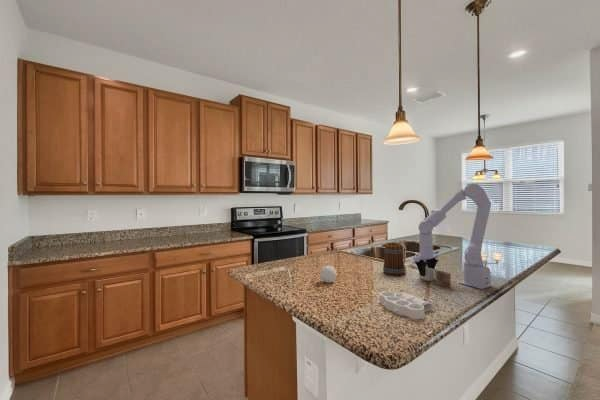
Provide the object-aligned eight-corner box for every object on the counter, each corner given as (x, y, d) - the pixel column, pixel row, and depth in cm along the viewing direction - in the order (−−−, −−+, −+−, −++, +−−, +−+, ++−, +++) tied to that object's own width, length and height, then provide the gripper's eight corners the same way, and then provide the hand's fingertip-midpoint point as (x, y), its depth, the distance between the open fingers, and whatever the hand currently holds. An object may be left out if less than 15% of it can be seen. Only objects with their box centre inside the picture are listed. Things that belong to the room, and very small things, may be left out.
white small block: (434, 279, 126) (434, 268, 126) (428, 280, 125) (428, 270, 125) (424, 276, 131) (424, 266, 131) (419, 278, 129) (419, 267, 129)
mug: (401, 277, 131) (401, 246, 131) (380, 274, 137) (379, 244, 137) (410, 269, 143) (409, 241, 143) (390, 267, 150) (389, 240, 150)
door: (442, 283, 119) (442, 274, 119) (437, 282, 120) (437, 273, 120) (438, 275, 130) (438, 267, 130) (434, 275, 131) (434, 267, 131)
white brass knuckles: (440, 314, 90) (408, 323, 84) (400, 296, 106) (370, 303, 100) (440, 304, 90) (408, 313, 84) (399, 288, 106) (370, 294, 100)
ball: (329, 289, 124) (326, 278, 119) (318, 279, 129) (315, 269, 125) (341, 279, 127) (338, 268, 122) (329, 270, 132) (327, 259, 128)
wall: (451, 287, 114) (451, 273, 114) (448, 288, 113) (448, 274, 113) (438, 284, 119) (438, 270, 119) (435, 284, 118) (435, 271, 118)
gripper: (428, 243, 135) (429, 270, 135) (408, 246, 128) (408, 275, 128) (441, 245, 128) (442, 274, 128) (421, 248, 122) (421, 278, 122)
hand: (426, 274), depth 128 cm, fingers open, 5 cm apart
